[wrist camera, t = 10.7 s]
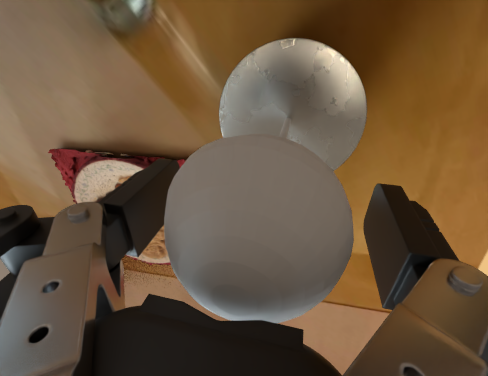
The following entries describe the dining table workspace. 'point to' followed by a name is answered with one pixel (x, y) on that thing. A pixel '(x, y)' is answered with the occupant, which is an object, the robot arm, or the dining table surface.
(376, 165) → the dining table surface
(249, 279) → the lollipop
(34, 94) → the dining table surface
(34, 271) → the robot arm
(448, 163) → the dining table surface
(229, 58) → the dining table surface
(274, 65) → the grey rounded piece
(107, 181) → the plate with food
